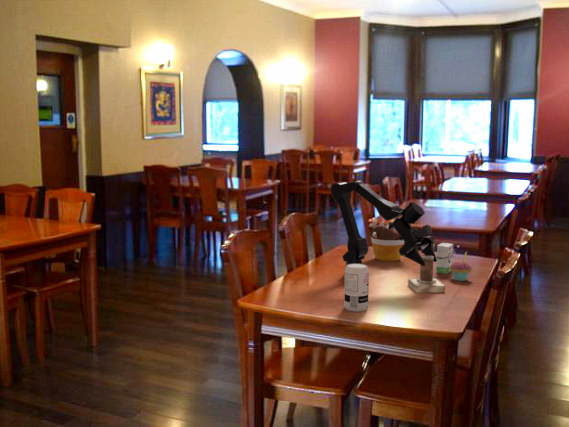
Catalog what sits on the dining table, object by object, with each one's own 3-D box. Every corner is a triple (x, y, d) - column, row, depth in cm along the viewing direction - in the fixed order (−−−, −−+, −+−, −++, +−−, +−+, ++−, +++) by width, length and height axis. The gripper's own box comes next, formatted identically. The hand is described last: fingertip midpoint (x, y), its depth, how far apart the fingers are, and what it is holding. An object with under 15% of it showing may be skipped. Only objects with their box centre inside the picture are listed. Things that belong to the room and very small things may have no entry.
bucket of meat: (364, 261, 291) (365, 218, 288) (370, 254, 307) (372, 213, 304) (408, 264, 285) (409, 220, 282) (412, 257, 300) (414, 215, 297)
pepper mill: (425, 284, 241) (426, 258, 240) (416, 281, 245) (417, 255, 244) (436, 282, 243) (436, 257, 242) (427, 279, 248) (427, 254, 246)
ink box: (447, 274, 267) (448, 246, 266) (435, 272, 270) (436, 245, 268) (452, 270, 275) (453, 243, 273) (441, 268, 277) (442, 242, 276)
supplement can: (341, 305, 221) (342, 263, 219) (365, 305, 222) (366, 263, 220) (346, 312, 213) (347, 268, 211) (370, 312, 214) (371, 268, 212)
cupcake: (471, 277, 261) (472, 249, 260) (470, 282, 253) (471, 253, 252) (450, 276, 264) (451, 247, 262) (448, 281, 256) (449, 251, 254)
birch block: (416, 293, 239) (416, 286, 238) (408, 286, 250) (408, 278, 249) (444, 293, 240) (445, 285, 239) (435, 285, 251) (435, 278, 250)
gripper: (407, 221, 236) (432, 254, 231) (431, 215, 250) (456, 247, 245) (388, 239, 242) (412, 272, 237) (412, 233, 256) (436, 264, 251)
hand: (430, 263), depth 242 cm, fingers open, 9 cm apart
